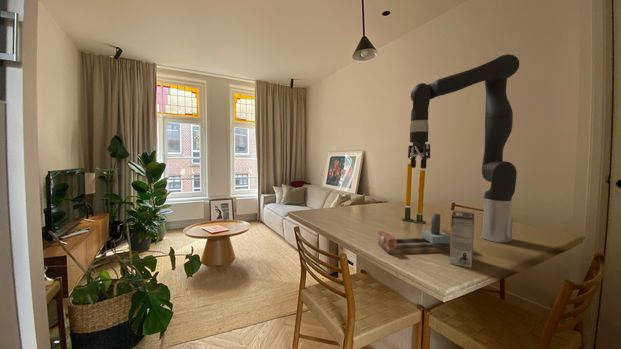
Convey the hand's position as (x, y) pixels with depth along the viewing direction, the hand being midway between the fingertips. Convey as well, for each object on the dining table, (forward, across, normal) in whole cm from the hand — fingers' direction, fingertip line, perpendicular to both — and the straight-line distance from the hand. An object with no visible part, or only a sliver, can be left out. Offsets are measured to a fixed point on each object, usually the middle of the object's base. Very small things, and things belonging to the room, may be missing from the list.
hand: (418, 168), depth 110 cm
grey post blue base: (+27, -16, +1) cm, 31 cm away
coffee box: (+30, -29, 0) cm, 42 cm away
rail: (+30, -16, +7) cm, 35 cm away
